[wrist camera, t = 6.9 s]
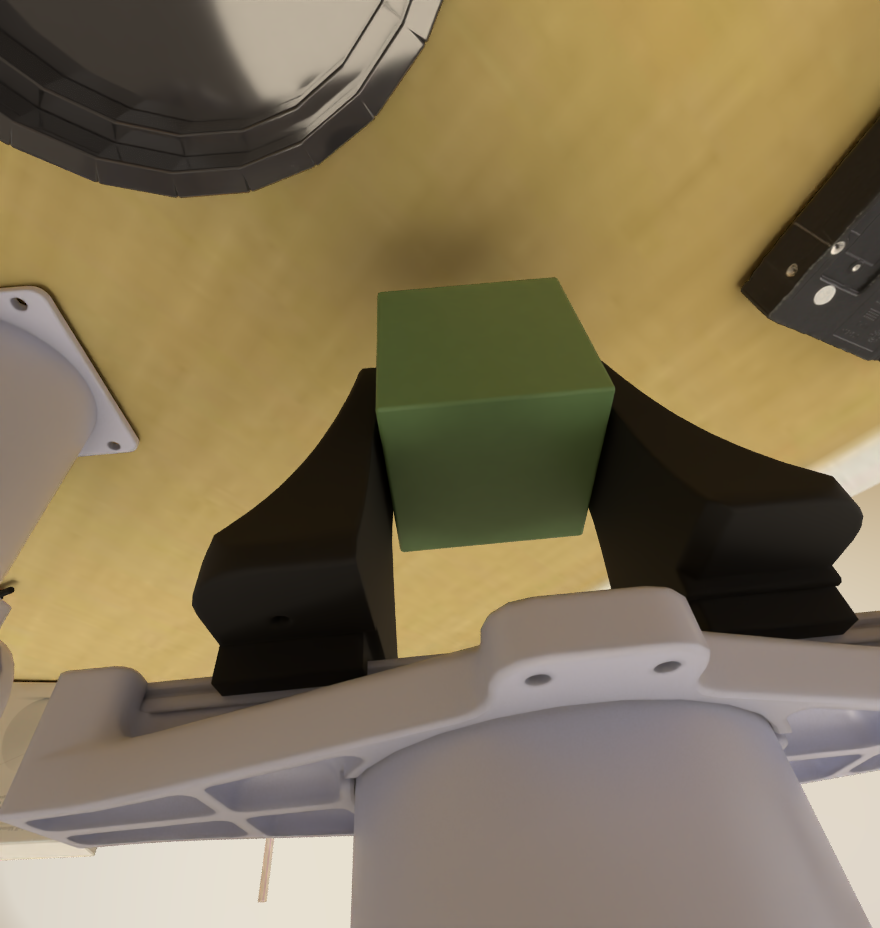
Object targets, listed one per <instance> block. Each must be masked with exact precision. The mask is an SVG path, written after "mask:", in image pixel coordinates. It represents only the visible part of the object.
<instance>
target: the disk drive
mask: <svg viewBox="0 0 880 928" xmlns="http://www.w3.org/2000/svg"><path fill="white" fill-rule="evenodd" d="M741 292H742V293H743V294H744V295H745V296H746V298H748V299H749V301H751V302H752V304H753V305H755V306H756V307H757V308H758V309H759V310H760V311H761V312H762V313H763V314H764V315H765V316H766V317H767V318H768V319H770V320H772V321H774V322H776V323H778V324H781V325H784V326H786V327H788V328H791V329H794V330H796V331H798V332H800V333H803V334H807V335H809V336H812V337H814V338H816V339H818V340H821V341H823V342H825V343H827V344H830V345H833V346H834V347H837V348H840V349H842V350H844V351H846V352H849V353H852V354H854V355H856V356H858V357H860V358H862V359H865V360H867V361H869V360H879V361H880V117H879V118H878V119H877V121H876V122H875V123H874V125H873V126H872V127H871V128H870V129H869V130H868V131H867V132H866V134H865V135H864V136H863V137H862V138H861V139H860V140H859V142H858V143H857V145H856V146H855V147H854V149H853V150H852V151H851V152H850V153H849V154H848V155H847V156H846V157H845V159H844V160H843V161H842V163H841V164H840V165H839V166H838V168H837V169H836V170H835V171H834V173H833V174H832V175H831V177H830V178H829V179H828V180H827V181H826V182H825V184H824V185H823V186H822V187H821V189H820V190H819V191H818V192H817V193H816V194H815V196H814V197H813V198H812V199H811V201H810V202H809V203H808V205H807V206H806V207H805V208H804V209H803V210H802V212H801V213H800V214H799V215H798V217H797V218H796V219H795V220H794V221H793V223H792V224H791V225H790V226H789V228H788V229H787V230H786V232H785V233H784V234H783V235H782V236H781V238H780V239H779V240H778V241H777V243H776V244H775V246H774V247H773V248H772V249H771V251H770V252H769V253H768V254H767V255H766V256H765V257H764V258H763V260H762V263H761V264H760V265H759V266H758V267H757V268H756V270H755V271H754V272H753V274H752V276H751V277H750V280H749V281H747V282H746V283H745V284H744V285H743V286H742V288H741Z"/></svg>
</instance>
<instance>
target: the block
mask: <svg viewBox="0 0 880 928" xmlns="http://www.w3.org/2000/svg"><path fill="white" fill-rule="evenodd" d="M614 393H615V386H614V384H613V383H612V381H611V379H610V377H609V375H608V373H607V371H606V369H605V367H604V366H603V364H602V362H601V360H600V358H599V356H598V354H597V352H596V351H595V349H594V347H593V345H592V343H591V341H590V339H589V337H588V335H587V334H586V332H585V330H584V328H583V326H582V324H581V322H580V320H579V319H578V317H577V315H576V313H575V311H574V309H573V307H572V305H571V303H570V302H569V300H568V298H567V296H566V294H565V292H564V290H563V288H562V287H561V285H560V283H559V281H558V279H557V278H555V277H552V278H540V279H528V280H517V281H505V282H493V283H482V284H470V285H458V286H447V287H435V288H423V289H412V290H400V291H388V292H380V293H378V297H377V356H376V416H377V421H378V427H379V432H380V438H381V444H382V449H383V455H384V460H385V466H386V472H387V477H388V483H389V488H390V494H391V500H392V505H393V511H394V516H395V522H396V528H397V533H398V539H399V544H400V549H401V551H402V552H409V551H420V550H430V549H441V548H451V547H462V546H472V545H483V544H493V543H504V542H514V541H525V540H536V539H546V538H557V537H567V536H578V535H581V534H582V533H583V529H584V524H585V520H586V516H587V511H588V507H589V503H590V498H591V494H592V489H593V485H594V481H595V476H596V472H597V468H598V463H599V459H600V454H601V450H602V446H603V441H604V437H605V433H606V428H607V424H608V419H609V415H610V411H611V406H612V402H613V398H614Z"/></svg>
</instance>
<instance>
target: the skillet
mask: <svg viewBox="0 0 880 928" xmlns="http://www.w3.org/2000/svg"><path fill="white" fill-rule="evenodd" d="M442 3H443V0H0V141H2V142H3V143H5V144H7V145H11V146H12V147H13V148H16V149H18V150H20V151H23V152H25V153H27V154H30V155H32V156H35V157H37V158H39V159H42V160H44V161H46V162H49V163H51V164H54V165H56V166H58V167H61V168H63V169H65V170H68V171H70V172H73V173H75V174H77V175H80V176H82V177H84V178H87V179H89V180H92V181H94V182H99V183H100V184H104V185H110V186H115V187H120V188H126V189H131V190H137V191H142V192H147V193H153V194H158V195H164V196H169V197H175V198H177V197H180V198H188V197H200V196H213V195H226V194H238V193H249V192H250V191H256V190H259V189H261V188H264V187H266V186H269V185H271V184H274V183H276V182H279V181H281V180H284V179H286V178H289V177H291V176H294V175H296V174H299V173H301V172H304V171H306V170H309V169H311V168H314V167H315V166H316V165H317V166H318V165H319V164H321V163H322V162H323V161H324V160H326V159H327V158H328V157H329V156H330V155H332V154H333V153H334V152H335V151H337V150H338V149H339V148H340V147H341V146H343V145H344V144H345V143H346V142H347V141H349V140H350V139H351V138H352V137H354V136H355V135H356V134H357V133H358V132H360V131H361V130H362V129H363V128H364V127H366V126H367V125H368V124H369V123H371V122H372V121H373V120H374V119H375V116H377V115H378V114H379V113H380V111H381V110H382V108H383V107H384V105H385V104H386V102H387V101H388V100H389V98H390V97H391V95H392V94H393V92H394V91H395V89H396V88H397V86H398V85H399V84H400V82H401V81H402V79H403V78H404V76H405V75H406V73H407V72H408V70H409V69H410V68H411V66H412V65H413V63H414V62H415V60H416V59H417V57H418V56H419V54H420V53H421V52H422V50H423V49H424V47H425V42H427V41H428V39H429V37H430V34H431V32H432V29H433V26H434V24H435V21H436V19H437V16H438V13H439V11H440V8H441V6H442Z"/></svg>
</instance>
